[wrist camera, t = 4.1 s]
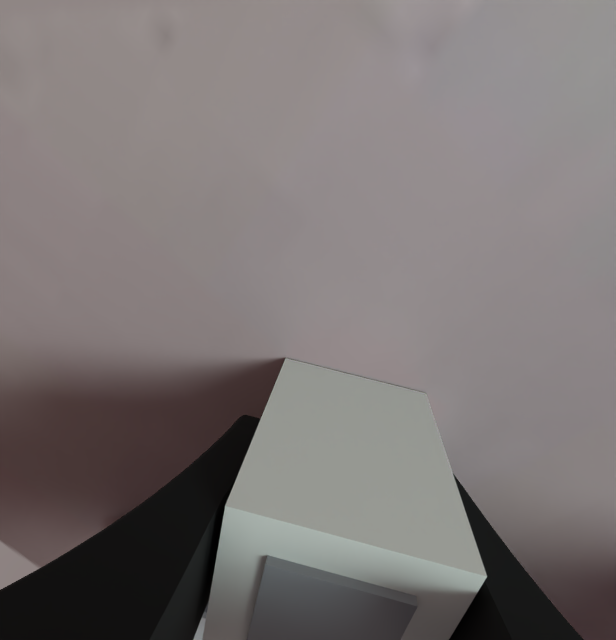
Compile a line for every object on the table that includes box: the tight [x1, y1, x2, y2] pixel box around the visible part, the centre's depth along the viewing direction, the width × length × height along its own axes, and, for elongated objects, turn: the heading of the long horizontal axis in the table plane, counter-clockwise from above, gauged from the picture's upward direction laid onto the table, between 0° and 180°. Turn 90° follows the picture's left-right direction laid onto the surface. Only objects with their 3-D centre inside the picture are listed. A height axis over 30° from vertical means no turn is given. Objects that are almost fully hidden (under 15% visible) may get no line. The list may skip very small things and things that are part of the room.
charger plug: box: [202, 358, 487, 640], centre depth 8 cm, size 4×4×5 cm
